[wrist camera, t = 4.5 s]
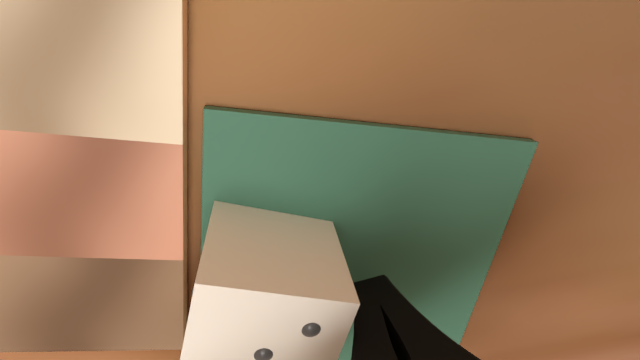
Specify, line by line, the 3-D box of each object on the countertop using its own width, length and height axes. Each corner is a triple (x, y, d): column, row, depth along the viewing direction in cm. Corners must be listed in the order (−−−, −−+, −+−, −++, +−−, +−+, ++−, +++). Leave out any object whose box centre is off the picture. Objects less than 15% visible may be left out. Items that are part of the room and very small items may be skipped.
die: (332, 221, 13) (361, 306, 9) (302, 310, 14) (317, 413, 11) (210, 200, 12) (189, 285, 8) (192, 297, 13) (166, 407, 10)
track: (188, -512, 7) (179, -573, 6) (187, 332, 15) (183, 349, 14) (-240, -680, 6) (-313, -782, 5) (11, 333, 13) (-3, 352, 13)
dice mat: (530, 139, 13) (538, 142, 13) (439, 378, 18) (443, 385, 18) (205, 105, 11) (203, 108, 11) (199, 385, 16) (198, 394, 16)
